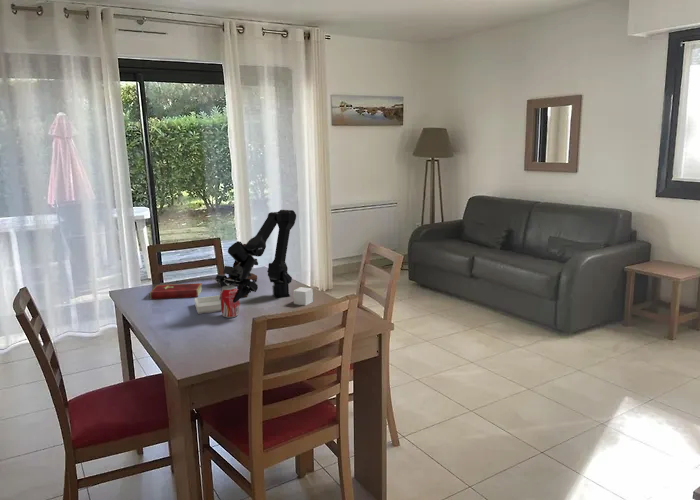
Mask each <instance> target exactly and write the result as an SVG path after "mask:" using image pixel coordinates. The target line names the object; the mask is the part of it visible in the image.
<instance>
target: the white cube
mask: <svg viewBox="0 0 700 500" xmlns="http://www.w3.org/2000/svg"><path fill="white" fill-rule="evenodd" d="M292 295H293V304H294V305H300V306H308V305H309V304H311V303H313V301H314V300H313V299H314V295H313V288H310V287H300V286H299V287H298V288H296V289H294V290H293V294H292Z"/></svg>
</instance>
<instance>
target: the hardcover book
mask: <svg viewBox="0 0 700 500" xmlns="http://www.w3.org/2000/svg"><path fill="white" fill-rule="evenodd" d="M202 285H203V282H202V283H201V282H200V283H199V282H198V283H196V282H195V283H176V284H174V283H173V284H172V283H171V284H156V285H155V287H154V288H152V290H150V292H149V295H150V296H149V297H150V300H165V299H166V300H167V299H185V298H186V299H187V298H188V299H189V298H190V299H191V298H199V295H200V294H201V292H202Z"/></svg>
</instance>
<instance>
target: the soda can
mask: <svg viewBox="0 0 700 500" xmlns="http://www.w3.org/2000/svg"><path fill="white" fill-rule="evenodd" d="M237 291H238V289H237V285H233V284H231V285H228V286H223V287H222V290H221V289H220V291H219V295H220V298H221V311H220V312H221V316H222V317H224V318H226V319H232V318H236V317H237V316H238V315H239V314H240V305H239V304H240V299H239V300H238V301H237V302H235V303H234V302H233V299H234V297H235V295H236V293H237Z"/></svg>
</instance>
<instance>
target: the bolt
mask: <svg viewBox="0 0 700 500" xmlns="http://www.w3.org/2000/svg"><path fill="white" fill-rule="evenodd" d="M236 289H237V290H238V285H236ZM249 294H250V293H248V294H247V295H245V296H243V297H242V298H243V299H244V298H245V299H246V298H248V296H249ZM242 298H241V299H242Z"/></svg>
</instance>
